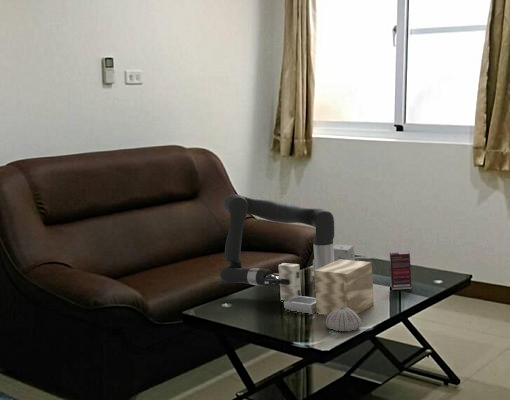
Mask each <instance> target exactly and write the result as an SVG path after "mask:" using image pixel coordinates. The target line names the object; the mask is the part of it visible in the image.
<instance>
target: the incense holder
mask: <svg viewBox="0 0 510 400" xmlns="http://www.w3.org/2000/svg"><path fill="white" fill-rule="evenodd" d="M333 246H334V262H335V261H337V260H339V259H343V260H353V261H356V255H355V248H354V245H353V244H335V245H333Z"/></svg>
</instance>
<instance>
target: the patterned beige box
mask: <svg viewBox="0 0 510 400" xmlns="http://www.w3.org/2000/svg"><path fill="white" fill-rule="evenodd" d="M372 264H373V263H372V261H364V260H363V261H361V260H355V261H353V260H343V259H339V260H337V261H335V262H332V263H330V264H328V265H326V266H323V267H321V268H319V269H316V270H314V274H312V275H311V280H312V281H311V282H312V285H313V284H314V287H315V289H313V290H312V296H313V298H316V308H317V312H316V314H317V313H318V314H317V315H321V314H324V315H323V316H328V315H329V314H330V313H331V312H332V311H334V309H336V308H338V307H348V308H350V309H351V310H353V311H354V312H355V313H356V314H357V315H358V314H361V313H362V312H364V311H365V310H367V309H370V307H373V306H374V303H375V302H374V284H373V283H374V282H373V265H372Z"/></svg>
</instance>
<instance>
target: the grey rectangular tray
mask: <svg viewBox="0 0 510 400" xmlns="http://www.w3.org/2000/svg"><path fill="white" fill-rule="evenodd" d="M283 307H284V308H286V309H289V310H291V311H297V312H302V313H301V314H304V313H309V314H308V315H311V314H312V315H314V314H316V313H317V308H316V298H313V297H311V296H302V295H301V296H297V295H296V296H294V297H292V298H290V299H288V300H286V301H284V302H283ZM297 312H296V313H297ZM315 312H316V313H315ZM313 313H314V314H313Z"/></svg>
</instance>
